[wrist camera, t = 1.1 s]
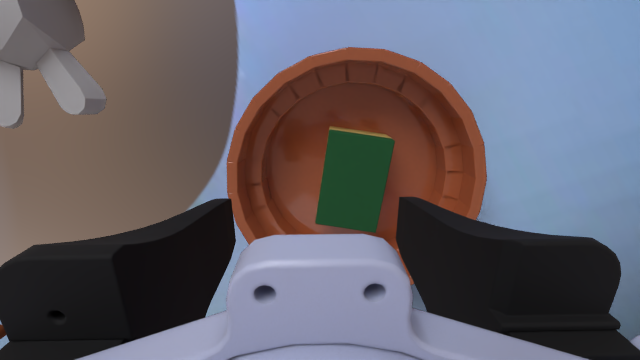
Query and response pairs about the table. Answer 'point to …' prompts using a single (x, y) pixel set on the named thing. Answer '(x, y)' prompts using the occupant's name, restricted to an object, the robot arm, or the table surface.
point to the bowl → (359, 114)
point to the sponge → (354, 179)
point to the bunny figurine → (43, 57)
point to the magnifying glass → (2, 331)
